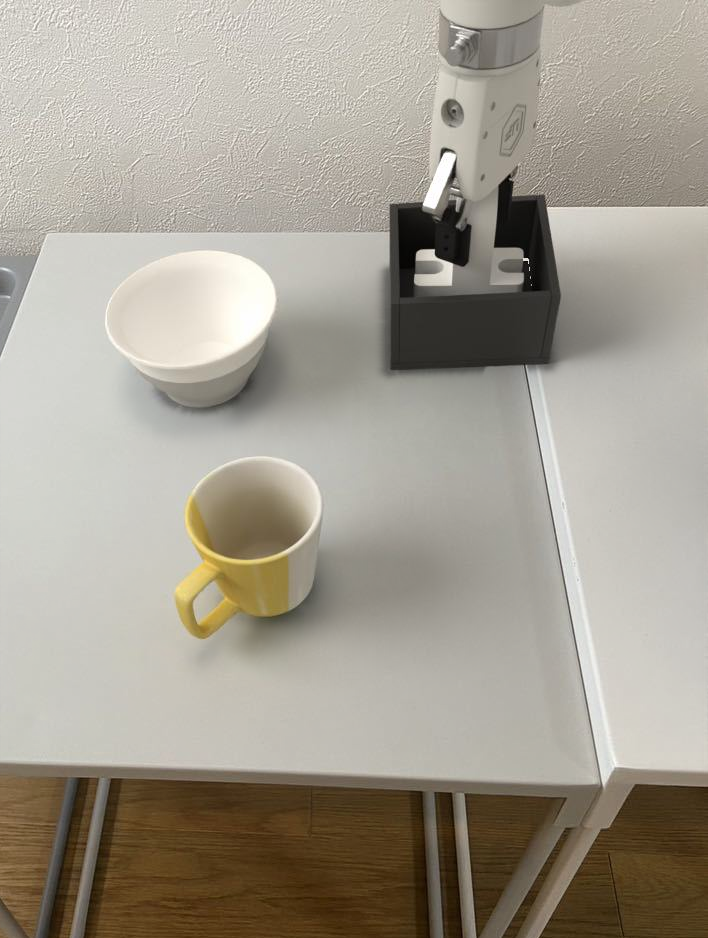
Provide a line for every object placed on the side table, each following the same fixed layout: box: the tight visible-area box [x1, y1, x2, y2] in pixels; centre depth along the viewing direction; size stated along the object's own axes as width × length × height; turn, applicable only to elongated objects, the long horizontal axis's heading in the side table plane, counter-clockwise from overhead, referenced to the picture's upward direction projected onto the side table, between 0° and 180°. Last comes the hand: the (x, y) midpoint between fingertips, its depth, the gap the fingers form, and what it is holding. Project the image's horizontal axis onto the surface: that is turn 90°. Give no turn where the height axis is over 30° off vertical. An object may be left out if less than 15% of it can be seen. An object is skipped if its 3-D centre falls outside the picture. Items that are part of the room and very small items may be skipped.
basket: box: [388, 194, 562, 370], centre depth 89 cm, size 15×15×8 cm
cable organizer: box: [414, 183, 524, 297], centre depth 84 cm, size 5×10×10 cm, turn 82°
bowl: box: [104, 249, 279, 408], centre depth 88 cm, size 16×16×8 cm
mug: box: [173, 455, 324, 640], centre depth 72 cm, size 14×10×10 cm
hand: (472, 237), depth 84 cm, fingers closed on cable organizer, 6 cm apart
